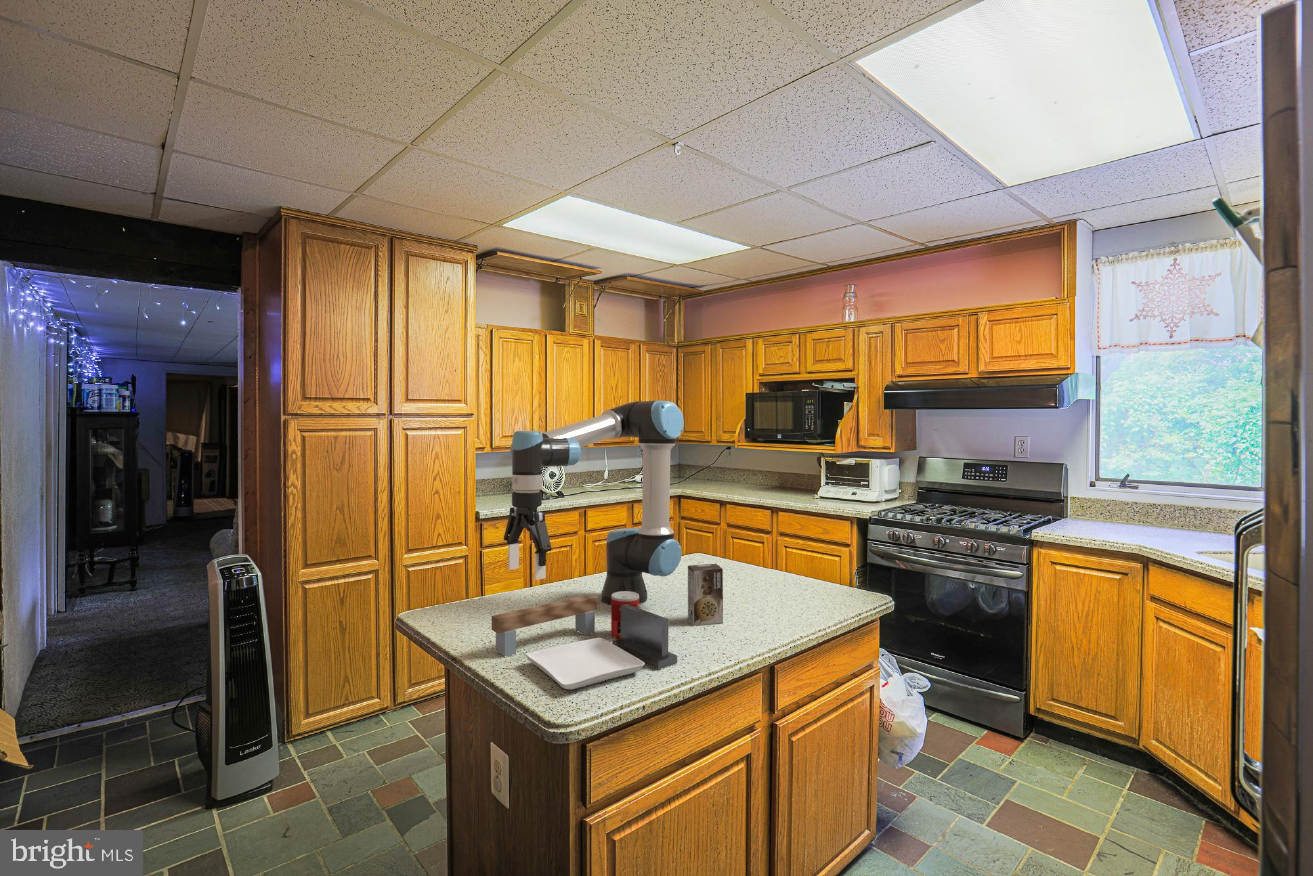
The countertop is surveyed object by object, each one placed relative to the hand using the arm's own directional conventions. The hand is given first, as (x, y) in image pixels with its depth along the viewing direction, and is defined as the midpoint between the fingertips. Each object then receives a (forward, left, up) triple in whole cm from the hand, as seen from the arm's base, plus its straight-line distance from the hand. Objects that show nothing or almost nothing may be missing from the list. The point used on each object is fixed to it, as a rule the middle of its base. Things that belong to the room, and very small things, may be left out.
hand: (526, 573), depth 159 cm
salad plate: (-3, +22, -20) cm, 29 cm away
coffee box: (-50, +15, -19) cm, 56 cm away
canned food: (-25, +9, -19) cm, 33 cm away
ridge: (-19, +24, -19) cm, 36 cm away
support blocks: (-6, 0, -19) cm, 20 cm away
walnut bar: (-6, 0, -13) cm, 14 cm away
